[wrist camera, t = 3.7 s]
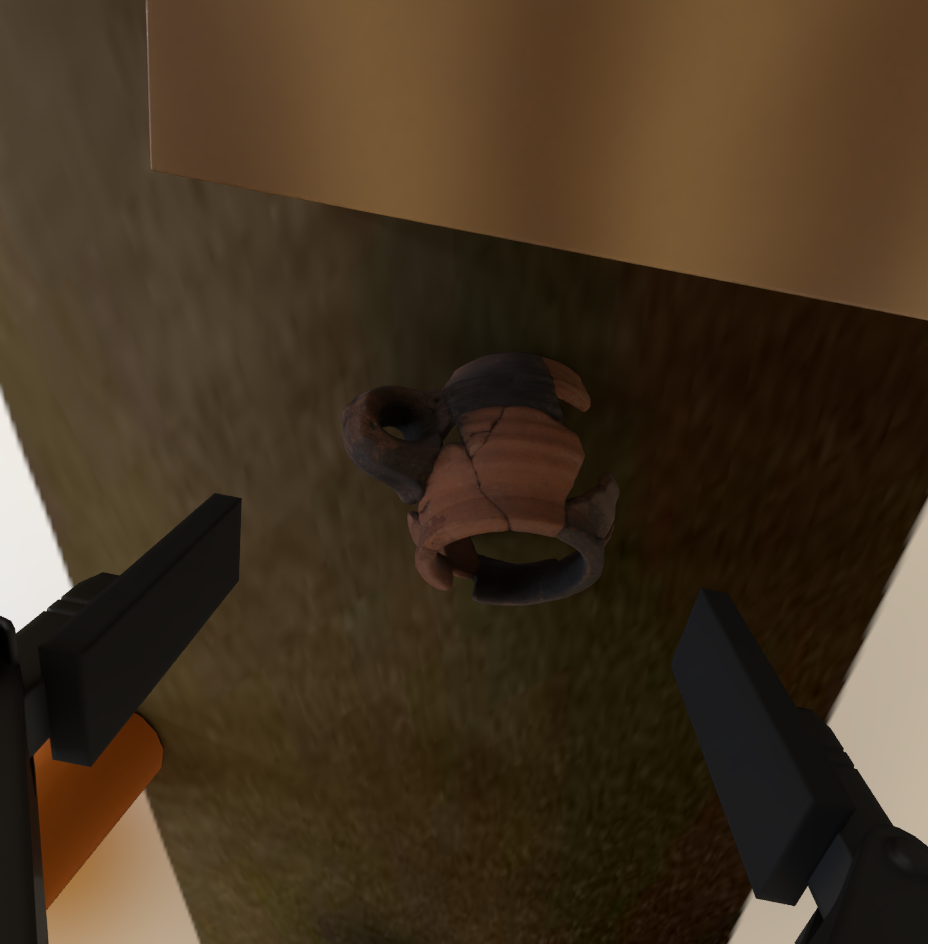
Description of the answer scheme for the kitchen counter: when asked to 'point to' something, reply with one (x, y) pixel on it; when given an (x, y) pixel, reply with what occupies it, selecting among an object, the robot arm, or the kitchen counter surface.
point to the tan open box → (578, 126)
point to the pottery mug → (489, 474)
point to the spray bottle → (89, 799)
